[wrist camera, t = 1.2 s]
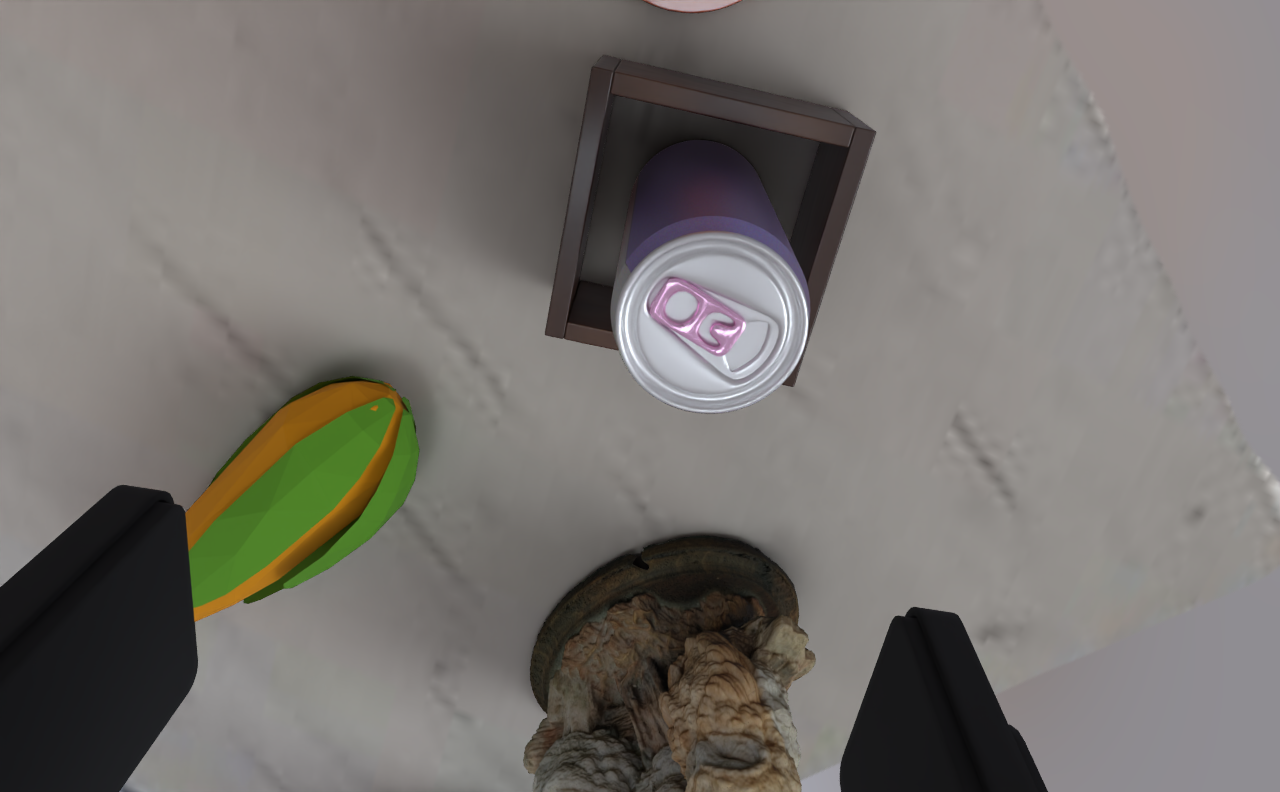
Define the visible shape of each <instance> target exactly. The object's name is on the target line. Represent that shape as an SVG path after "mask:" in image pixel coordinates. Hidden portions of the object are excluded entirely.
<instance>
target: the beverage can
mask: <svg viewBox="0 0 1280 792" xmlns="http://www.w3.org/2000/svg"><path fill="white" fill-rule="evenodd" d="M809 319H810V296H809V290H808V286H807V282H806V279H805V276H804V274H803V271H802V269H801V267H800V265H799V263H798V261H797V258H796V256H795V254H794V252H793V250H792V248H791V245H790V243H789V241H788V239H787V237H786V235H785V232H784V230H783V228H782V226H781V224H780V221H779V219H778V217H777V215H776V213H775V211H774V208H773V206H772V204H771V202H770V200H769V198H768V195H767V193H766V191H765V189H764V187H763V185H762V182H761V180H760V178H759V176H758V174H757V172H756V171H755V169H754V168H753V166H752V165H751V164H750V163H749V162H748V161H747V160H746V159H745V158H744V157H743V156H742V155H741V154H740V153H738V152H737V151H735V150H734V149H732V148H730V147H728V146H726V145H723V144H721V143H717V142H713V141H707V140H691V141H685V142H681V143H677V144H674V145H672V146H670V147H668V148H666V149H664V150H662V151H661V152H659V153H658V154H656V155H655V156H654V157H653V158H652V159H651V160H650V161H649V162H648V163H647V164H646V165H645V166H644V167H643V169H642V170H641V172H640V173H639V175H638V177H637V179H636V181H635V183H634V186H633V188H632V192H631V196H630V201H629V207H628V212H627V218H626V223H625V228H624V234H623V239H622V245H621V250H620V255H619V261H618V266H617V272H616V277H615V282H614V288H613V293H612V299H611V325H612V330H613V335H614V338H615V341H616V344H617V346H618V349H619V352H620V355H621V357H622V360H623V362H624V364H625V366H626V368H627V369H628V371H629V372H630V374H631V375H632V377H633V378H634V379H635V380H636V382H637V383H638V384H639V385H640V386H641V387H642V388H643V389H644V390H646V391H647V392H648V393H649V394H651V395H652V396H653V397H655V398H656V399H658V400H660V401H662V402H663V403H665V404H668V405H670V406H672V407H675V408H678V409H681V410H684V411H689V412H695V413H705V414H715V413H725V412H730V411H735V410H738V409H742V408H745V407H747V406H750V405H752V404H754V403H756V402H758V401H760V400H762V399H764V398H765V397H767V396H768V395H770V394H771V393H772V392H774V391H775V390H776V389H777V388H778V387H779V386H780V385H781V384H782V383H783V382H784V381H785V380H786V379H787V378H788V377H789V376H790V374H791V373H792V371H793V370H794V368H795V367H796V365H797V364H798V362H799V360H800V358H801V355H802V353H803V350H804V347H805V344H806V340H807V336H808V328H809Z"/></svg>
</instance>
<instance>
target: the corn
mask: <svg viewBox="0 0 1280 792" xmlns="http://www.w3.org/2000/svg"><path fill="white" fill-rule="evenodd" d="M418 456H419V446H418V441H417V437H416V426H415V422H414V418H413V414H412V410H411V407H410V403H409V400H408V399H406V398H405V397H403V398H401V397H400V396H399V395H398V393H397V392H396V389H394V388H393V387H392V386H391V385H390V384H389V383H385V382H383V381H380V380H374V379H368V378H362V377H355V376H350V377H345V378H340V379H335V380H330V381H325V382H320V383H318V384H316V385H315V386H313V387H311V388H309V389H307V390H305V391H304V392H302V393H300V394H298V395H296V396H295V397H293V398H291V399H290V400H289V401H288V402H287V403H286V404H285V405H284V406H283V407H281V408H280V409H279V410H278V411H277V412H276V413H275V414H274V415H273V416H271V417H270V418H269V419H268V420H267V421H266V422H265V423H264V424H263V425H262V426H260V427H259V428H258V429H257V430H256V431H255V432H254V433H253V434H252V435H250V436H249V437H248V438H247V439H246V440H245V441H244V442H243V444H242V445H241V446H240V447H239V448H238V449H237V451H236V452H235V453H234V454H233V455H232V456H231V458H230V459H229V460H228V461H227V462H226V463H225V465H224V466H223V467H222V468H221V469H220V470H219V472H218V473H217V474H216V476H215V477H214V479H213V481H212V482H211V484H210V485H209V487H208V489H207V490H206V491H205V492H204V493H203V494H202V495H201V496H200V497H199V499H198V500H197V501H196V502H195V503H194V504H193V505H192V506H191V507H190V508H189V510H188V511H187V512H186V513H185V516H186V527H187V539H188V550H189V562H190V574H191V586H192V597H193V609H194V621H195V622H196V621H198V620H200V619H202V618H205V617H207V616H209V615H212V614H214V613H216V612H218V611H221V610H223V609H225V608H228V607H230V606H232V605H234V604H236V603H238V602H240V601H241V600H244V603H247V604H249V603H252V602H255V601H258V600H261V599H263V598H265V597H267V596H269V595H271V594H273V593H275V592H277V591H279V590H281V589H286V588H293V587H295V586H297V585H298V584H300V583H302V582H304V581H306V580H308V579H310V578H312V577H314V576H316V575H318V574H319V573H321V572H323V571H325V570H327V569H329V568H330V567H332V566H333V565H334V564H336V563H337V562H339V561H340V560H341V559H343V558H344V557H346V556H347V555H348V554H350V553H351V552H352V551H354V550H355V549H357V548H358V547H359V546H361V545H362V544H364V543H365V542H366V541H368V540H369V539H370V538H371V537H372V536H373V535H374V534H375V533H376V532H377V531H378V530H379V529H380V528H381V527H382V526H383V525H384V524H385V523H386V522H387V521H388V520H389V518H390V517H391V516H392V515H393V514H394V513H395V512H396V511H397V510H398V509H399V508H400V507H401V506H402V505H403V504H404V501H405V499H406V497H407V495H408V493H409V491H410V489H411V487H412V485H413V483H414V481H415V476H416V469H417V462H418Z"/></svg>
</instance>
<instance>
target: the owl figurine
mask: <svg viewBox="0 0 1280 792" xmlns="http://www.w3.org/2000/svg"><path fill="white" fill-rule="evenodd" d="M643 550H644V551H643V552H642V560H643V561H644V562H645V563H647V564H648V565H649V569H648V570H644V569H641V568H639V567H637V566H635V565H633V564H632V563H633V561H635V559H636V557H637V556H636V555H633V554H629V555H626V556H622V557H619V558H617V559H616V560H614V561H612V562H610V563H609V564H607V565H606V566H604V567H602V568H600V569H599V570H597V571H596V572H595V573H594V574H592V575H591V576H590V577H587V578H586V580H585V581H583V582H582V583H580V584H579V585H577V587H575V588H574V589H573V590H572V591H570V592H569V593H568V595H566V597H564V598H563V600H562V601H561V602H560V603H559V604H558V605H557V606H556V608H555V609H554V610H553V612H552V613H551V614H550V616H549V617H548V618H547V619H546V622H544V625H543V627H542V629H541V630H540V633H539V634H538V636H537V637H538V638H537V642H536V645H535V646H534V650H533V654H532V659H531V666H530V681H531V686H532V690H533V693H534V696H535V698H536V699H537V701H538V704H539V705H540V706H541V708H542V709H543V711H545V712H546V713H547V718H545V719H543V720H542V722H541V723H540V725H539V729H537V730H536V731H537V733H536V734H534V735H533V736H532V740H530V742H529V743H528V744H527V745H526V747H525V752H524V759H523V761H524V766H525V768H526V769H527V770H528V773H531V774H535V778H534V783H533V792H801V786H802V785H801V783H800V779H799V775H798V772H797V768H798V763H799V760H800V758H801V753H800V747H799V745H798V743H797V740H796V737H797V730H796V728H795V727H794V725H793V723H792V716H791V712H790V708H789V705H788V693H787V690H788V688H789V687H790V686H791V683H792V681H794V680H797V679H798V678H800V677H802V676H803V675H805V674H807V673H808V672H809V671H810V670H811V669H812V668H813V667H814V664H815V660H816V659H815V654H814V653H813V652H812V651H809V650H808V649H806V648H805V646H806V644H807V642H808V641H809V639H808V635H807V634H806V633H805V632H804V630H803V629H801V628H800V627H798V618H799V608H798V600H797V595H796V591H795V589H794V585H793V583H792V582H791V580H790V579H789V577H788V576H787V574H786V573H785V572H784V571H783V570H782V569H781V568H780V567H779V566H778V565H777V564H776V563H775V562H773V561H771V560H770V558H768V557H767V556H765V555H764V554H763V553H762V552H761V551H760V550H759V549H757V548H753V547H752V546H750V545H748V544H745V543H743V542H741V541H737V540H731V539H727V538H718V537H711V536H691V537H684V538H679V539H675V540H671V541H668V542H666V543H663V544H653V545H649V546H648V547H645V548H644V549H643Z"/></svg>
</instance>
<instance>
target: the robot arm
mask: <svg viewBox="0 0 1280 792" xmlns="http://www.w3.org/2000/svg"><path fill="white" fill-rule="evenodd" d="M197 668H198V656H197V645H196V633H195V621H194V609H193V597H192V586H191V574H190V562H189V550H188V539H187V527H186V516H185V511H184V509H183V507H182V506H180V505H176V504H174V501H173V498H172V496H171V495H170V493H168V492H166V491H160V490H153V489H147V488H141V487H134V486H128V485H120V486H117V487H115V488H114V489H112V490H111V491H110V492H108V493H107V494H106V495H105V496H104V497H103V498H102V499H100V500H99V501H98V502H97V503H96V504H95V505H94V506H92V507H91V508H90V509H89V510H88V511H87V512H86V513H84V514H83V515H82V516H81V517H80V518H79V519H78V520H76V521H75V522H74V523H73V524H72V525H71V526H70V527H69V528H67V529H66V530H65V531H64V532H63V533H62V534H61V535H59V536H58V537H57V538H56V539H55V540H54V541H53V542H51V543H50V544H49V545H48V546H47V547H46V548H45V549H43V550H42V551H41V552H40V553H39V554H38V555H37V556H35V557H34V558H33V559H32V560H31V561H30V562H29V563H27V564H26V565H25V566H24V567H23V568H22V569H21V570H19V571H18V572H17V573H16V574H15V575H14V576H13V577H11V578H10V579H9V580H8V581H7V582H6V583H5V584H4V585H2V586H1V587H0V792H119V791H120V790H121V788H122V787H123V785H124V784H125V783H126V781H127V780H128V778H129V777H130V775H131V774H132V773H133V771H134V770H135V768H136V767H137V765H138V764H139V763H140V761H141V760H142V758H143V757H144V755H145V754H146V753H147V751H148V750H149V748H150V747H151V745H152V744H153V743H154V741H155V740H156V738H157V737H158V735H159V734H160V733H161V731H162V730H163V728H164V727H165V725H166V724H167V723H168V721H169V720H170V718H171V717H172V715H173V714H174V713H175V711H176V710H177V708H178V707H179V705H180V704H181V703H182V701H183V700H184V698H185V697H186V695H187V694H188V692H189V691H190V689H191V687H192V685H193V683H194V680H195V677H196V674H197ZM840 786H841V792H1048V791H1047V789H1046V787H1045V784H1044V782H1043V780H1042V778H1041V776H1040V774H1039V771H1038V769H1037V767H1036V765H1035V763H1034V761H1033V758H1032V756H1031V754H1030V752H1029V750H1028V748H1027V745H1026V743H1025V741H1024V740H1023V738H1022V736H1021V735H1020V733H1019V731H1018V730H1016V729H1015V728H1014V727H1013V726H1011V725H1008V723H1007V721H1006V719H1005V716H1004V714H1003V712H1002V710H1001V707H1000V705H999V703H998V701H997V699H996V696H995V694H994V692H993V690H992V687H991V685H990V683H989V681H988V679H987V676H986V674H985V672H984V670H983V667H982V665H981V663H980V661H979V659H978V656H977V654H976V652H975V650H974V647H973V645H972V643H971V641H970V639H969V636H968V634H967V632H966V630H965V627H964V625H963V623H962V621H961V619H960V618H959V616H958V615H957V614H955V613H951V612H944V611H938V610H931V609H925V608H918V607H913V608H910V609H909V611H908V612H907V614H906V616H905V617H904V616H895V617H894V618H893V620H892V622H891V624H890V627H889V630H888V632H887V635H886V638H885V641H884V643H883V646H882V649H881V652H880V654H879V657H878V660H877V663H876V666H875V668H874V671H873V674H872V677H871V679H870V682H869V685H868V688H867V691H866V693H865V696H864V699H863V702H862V704H861V707H860V710H859V713H858V715H857V718H856V721H855V724H854V727H853V729H852V732H851V735H850V738H849V740H848V743H847V746H846V749H845V751H844V754H843V757H842V761H841V767H840Z"/></svg>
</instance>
